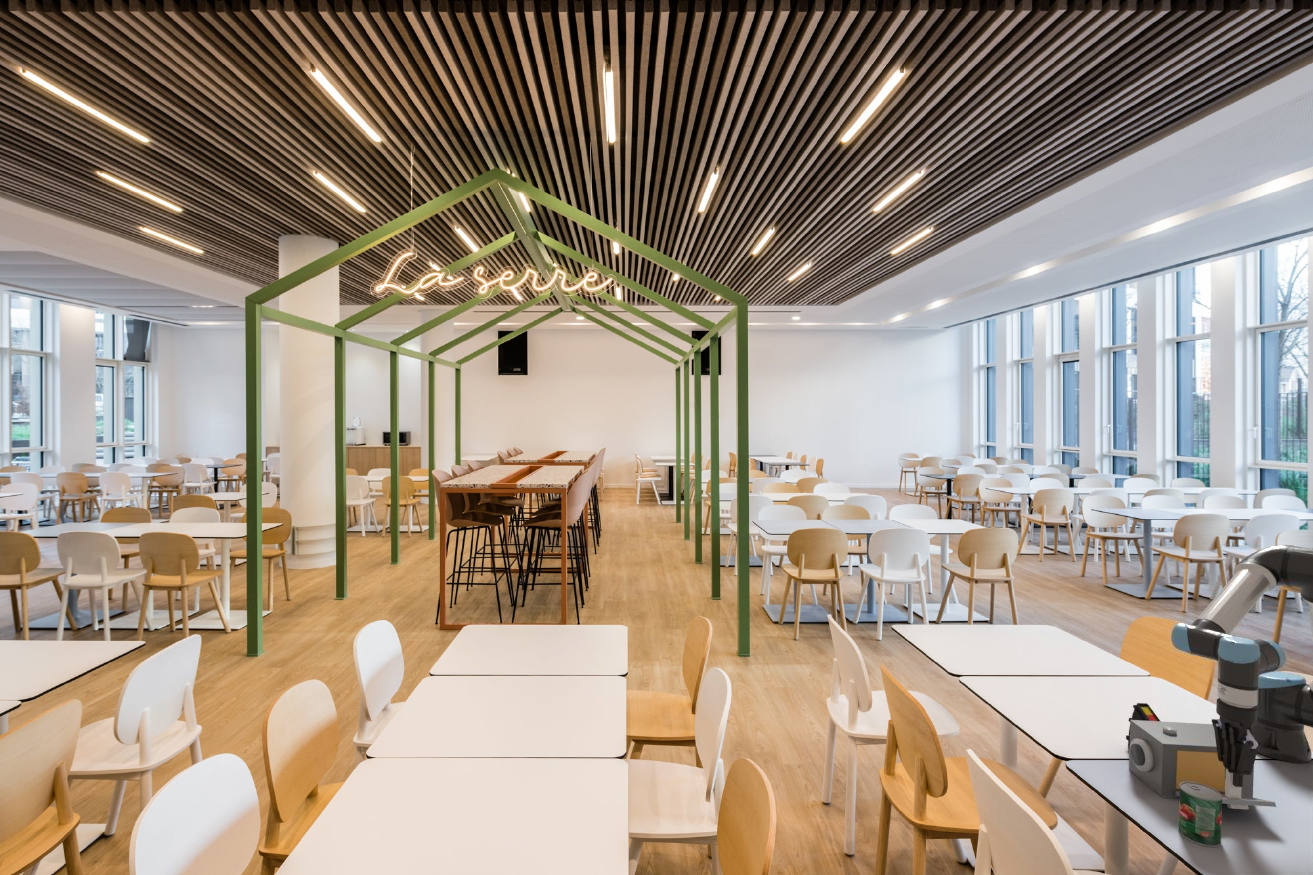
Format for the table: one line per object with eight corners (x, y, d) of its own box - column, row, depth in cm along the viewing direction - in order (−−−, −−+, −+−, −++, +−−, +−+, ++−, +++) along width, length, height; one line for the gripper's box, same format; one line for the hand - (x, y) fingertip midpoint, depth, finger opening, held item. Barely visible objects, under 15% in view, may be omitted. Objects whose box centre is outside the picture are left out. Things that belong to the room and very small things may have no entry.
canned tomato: (1230, 846, 154) (1232, 799, 153) (1198, 847, 153) (1200, 800, 153) (1199, 825, 161) (1201, 780, 161) (1169, 826, 161) (1170, 781, 161)
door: (1175, 790, 173) (1203, 797, 163) (1241, 795, 171) (1275, 802, 161) (1176, 799, 172) (1205, 806, 162) (1243, 803, 171) (1277, 811, 160)
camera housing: (1213, 773, 186) (1214, 720, 185) (1253, 803, 171) (1255, 745, 171) (1120, 768, 188) (1121, 715, 188) (1152, 796, 174) (1154, 739, 174)
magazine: (1132, 737, 203) (1147, 702, 197) (1158, 776, 192) (1176, 740, 185) (1119, 736, 204) (1134, 701, 197) (1145, 775, 192) (1162, 740, 185)
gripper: (1201, 690, 170) (1197, 781, 171) (1240, 712, 157) (1236, 810, 158) (1233, 692, 169) (1229, 783, 170) (1275, 714, 156) (1271, 813, 157)
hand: (1233, 796), depth 164 cm, fingers closed
